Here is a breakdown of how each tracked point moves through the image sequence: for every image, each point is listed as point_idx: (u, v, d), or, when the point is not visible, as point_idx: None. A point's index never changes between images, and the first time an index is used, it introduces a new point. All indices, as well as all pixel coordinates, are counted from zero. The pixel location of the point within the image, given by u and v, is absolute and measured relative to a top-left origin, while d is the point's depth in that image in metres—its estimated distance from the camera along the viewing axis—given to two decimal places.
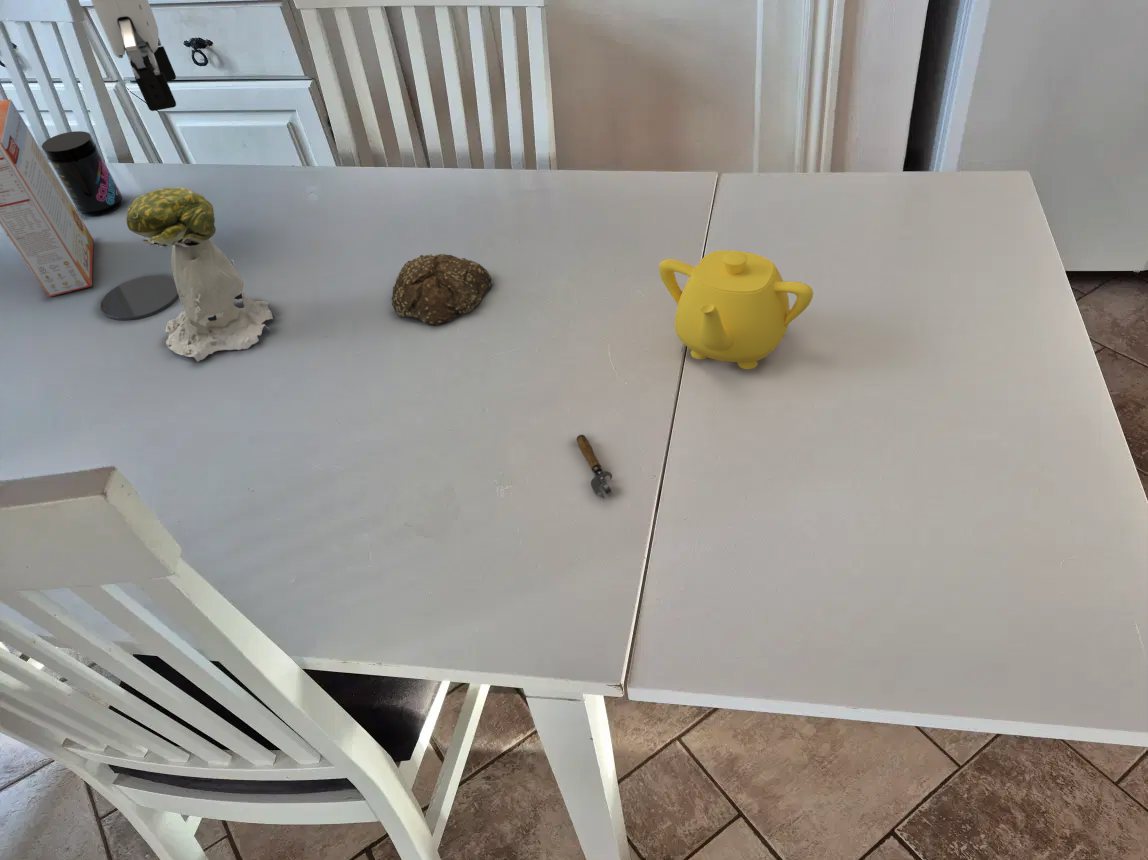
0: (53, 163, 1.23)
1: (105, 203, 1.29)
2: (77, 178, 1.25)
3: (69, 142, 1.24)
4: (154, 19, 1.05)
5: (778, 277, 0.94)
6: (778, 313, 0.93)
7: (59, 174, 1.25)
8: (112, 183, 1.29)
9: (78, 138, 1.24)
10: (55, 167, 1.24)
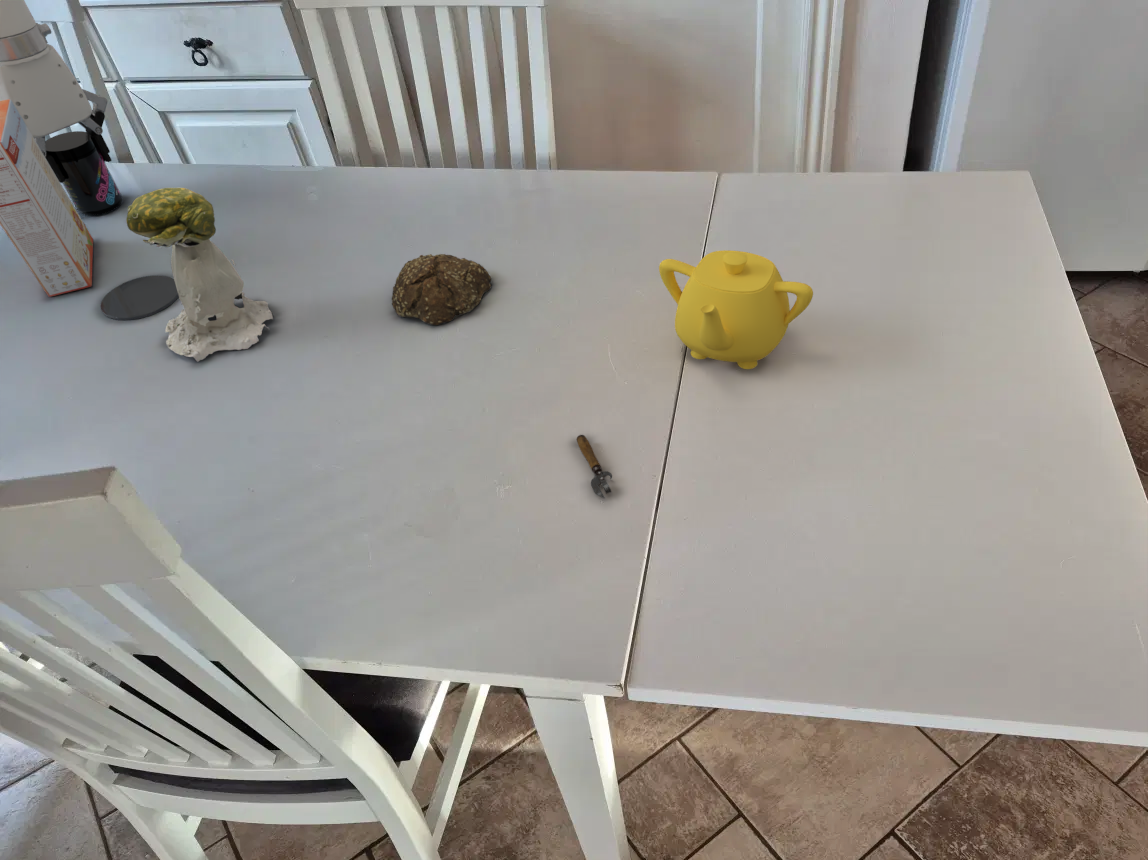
0: None
1: (105, 203, 1.29)
2: (77, 178, 1.25)
3: (69, 141, 1.24)
4: (76, 109, 1.21)
5: (778, 277, 0.94)
6: (778, 313, 0.93)
7: None
8: (113, 183, 1.29)
9: (78, 138, 1.24)
10: None
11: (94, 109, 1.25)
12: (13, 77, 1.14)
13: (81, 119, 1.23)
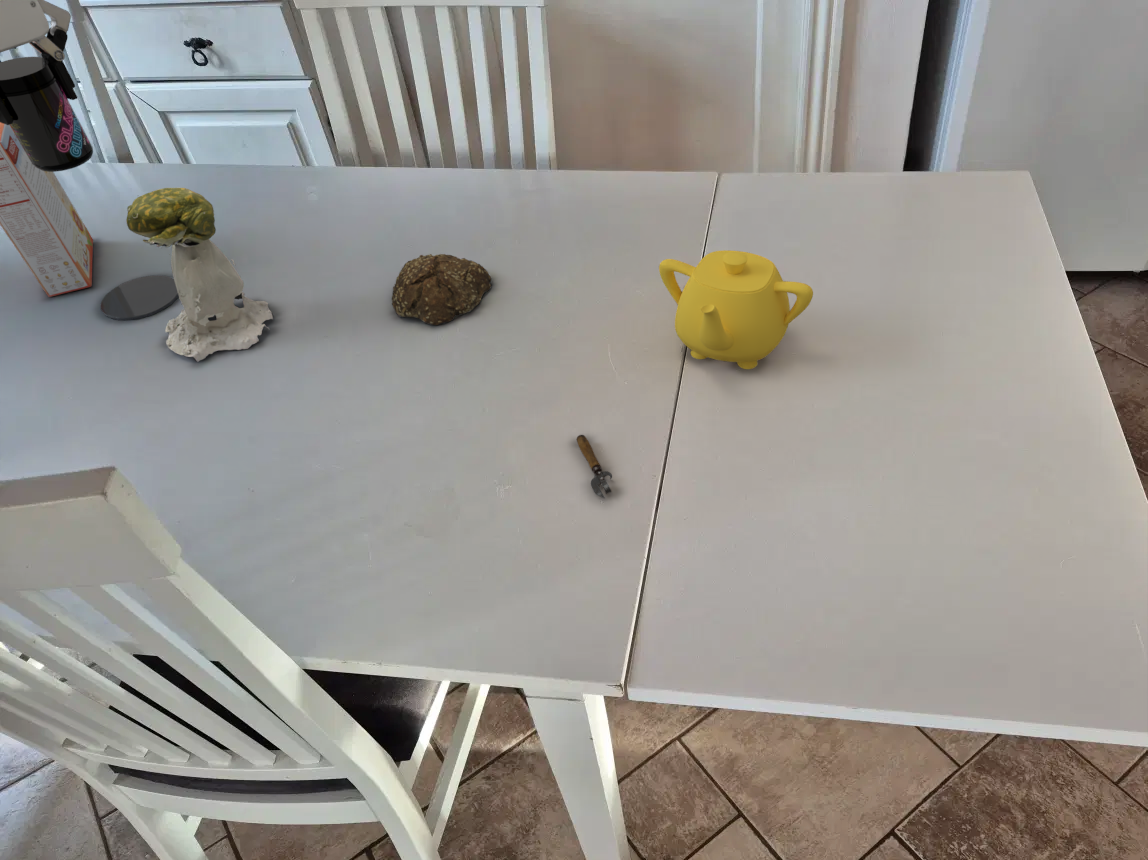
0: None
1: (69, 154, 0.96)
2: (29, 118, 0.92)
3: (18, 69, 0.91)
4: (26, 23, 0.89)
5: (778, 277, 0.94)
6: (778, 313, 0.93)
7: None
8: (79, 129, 0.97)
9: (31, 65, 0.92)
10: None
11: (53, 26, 0.93)
12: None
13: (34, 37, 0.90)
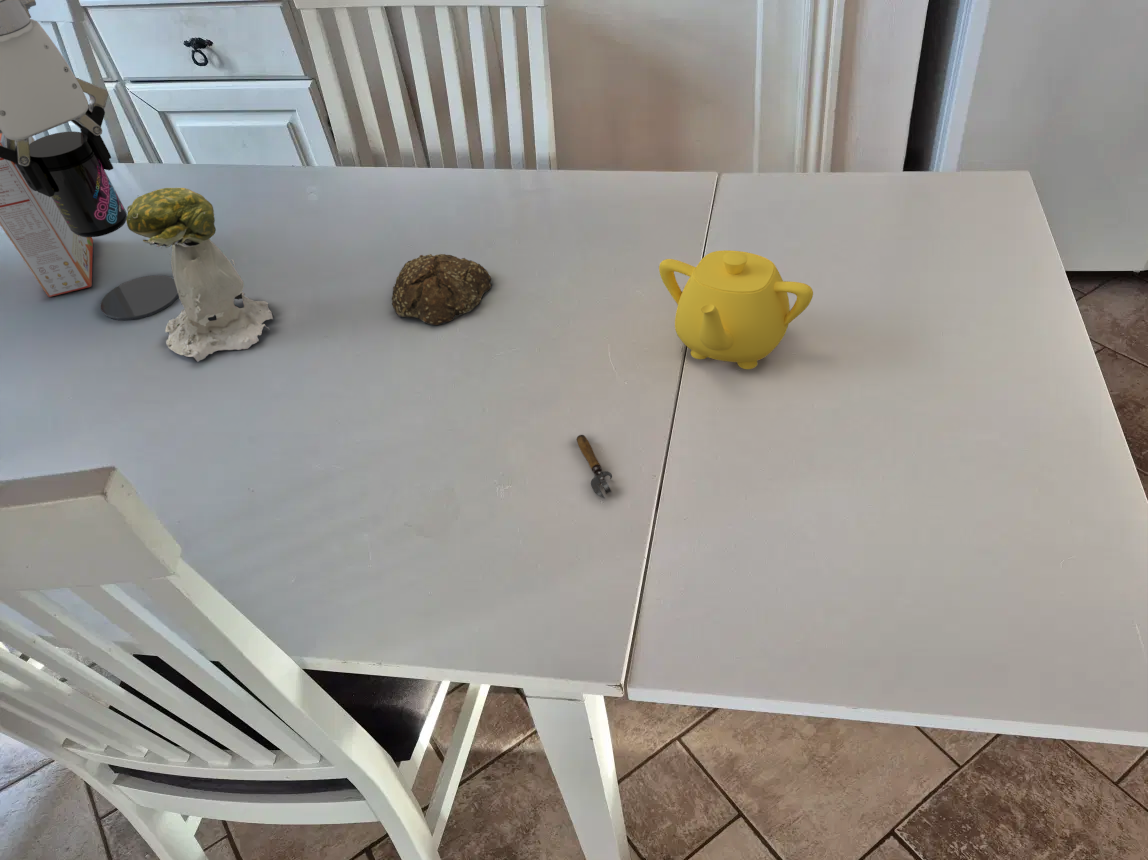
0: None
1: (105, 221, 1.02)
2: (70, 191, 0.98)
3: (59, 145, 0.97)
4: (68, 103, 0.95)
5: (778, 277, 0.94)
6: (778, 313, 0.93)
7: None
8: (115, 197, 1.03)
9: (71, 141, 0.98)
10: None
11: (91, 103, 0.99)
12: None
13: (75, 116, 0.96)
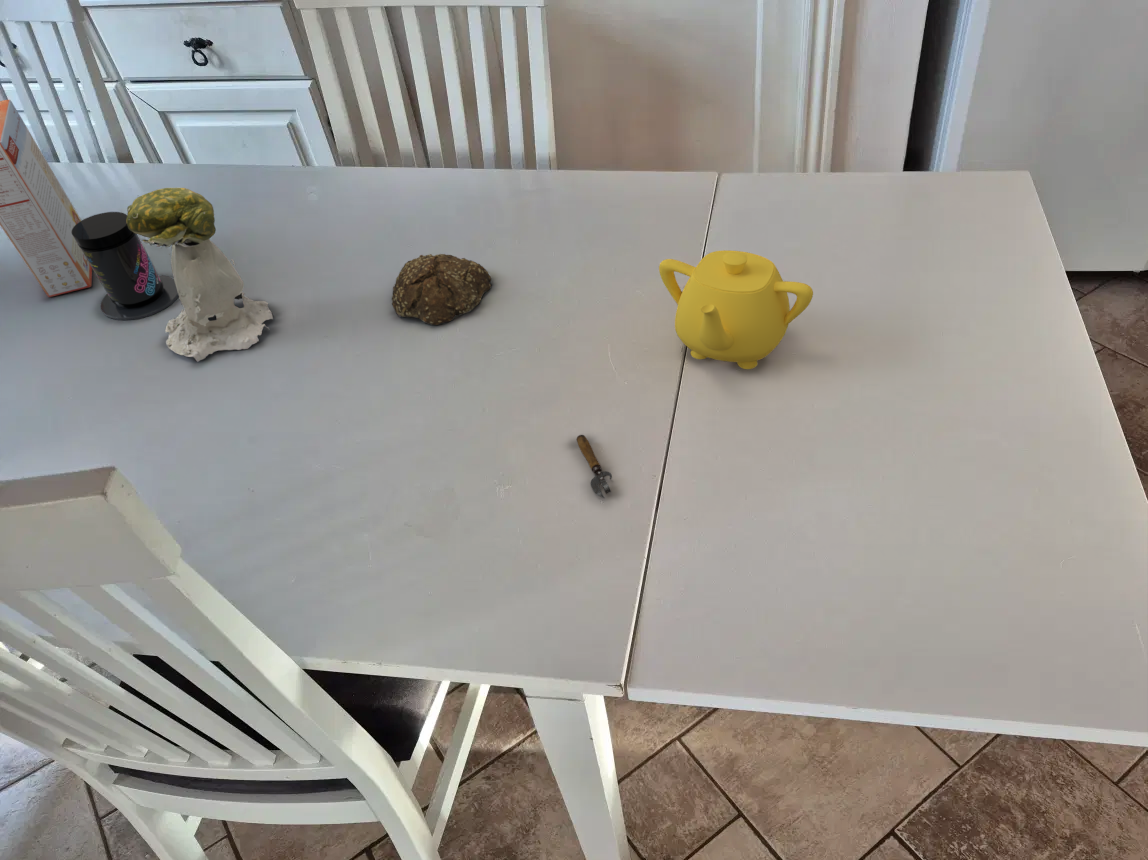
0: (85, 252, 1.04)
1: (144, 294, 1.10)
2: (112, 268, 1.06)
3: (103, 226, 1.05)
4: None
5: (778, 277, 0.94)
6: (778, 313, 0.93)
7: (91, 263, 1.06)
8: (153, 271, 1.10)
9: (114, 222, 1.05)
10: (87, 256, 1.05)
11: None
12: None
13: None
